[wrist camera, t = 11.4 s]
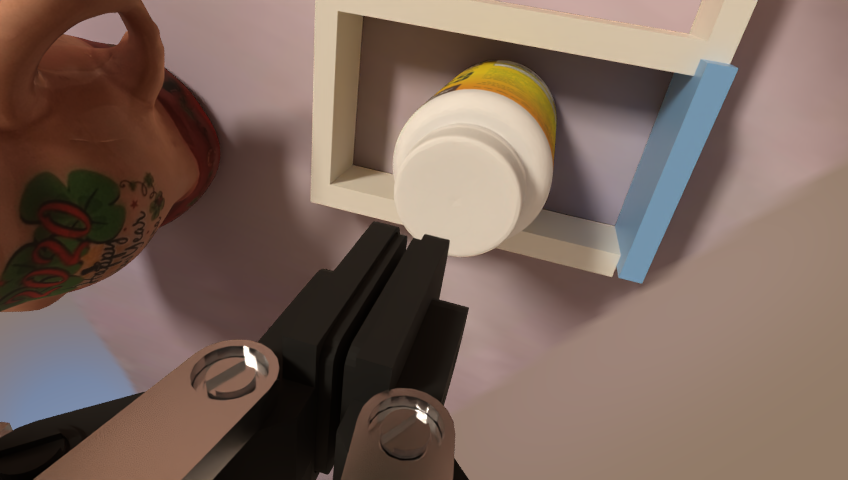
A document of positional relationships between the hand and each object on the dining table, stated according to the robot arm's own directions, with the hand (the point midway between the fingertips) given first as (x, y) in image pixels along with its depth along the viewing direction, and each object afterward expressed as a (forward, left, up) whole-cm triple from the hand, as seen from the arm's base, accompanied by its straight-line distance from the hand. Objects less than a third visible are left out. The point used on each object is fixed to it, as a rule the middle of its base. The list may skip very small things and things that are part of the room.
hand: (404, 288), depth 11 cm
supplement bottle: (0, 0, -15) cm, 15 cm away
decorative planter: (+19, +3, -15) cm, 24 cm away
